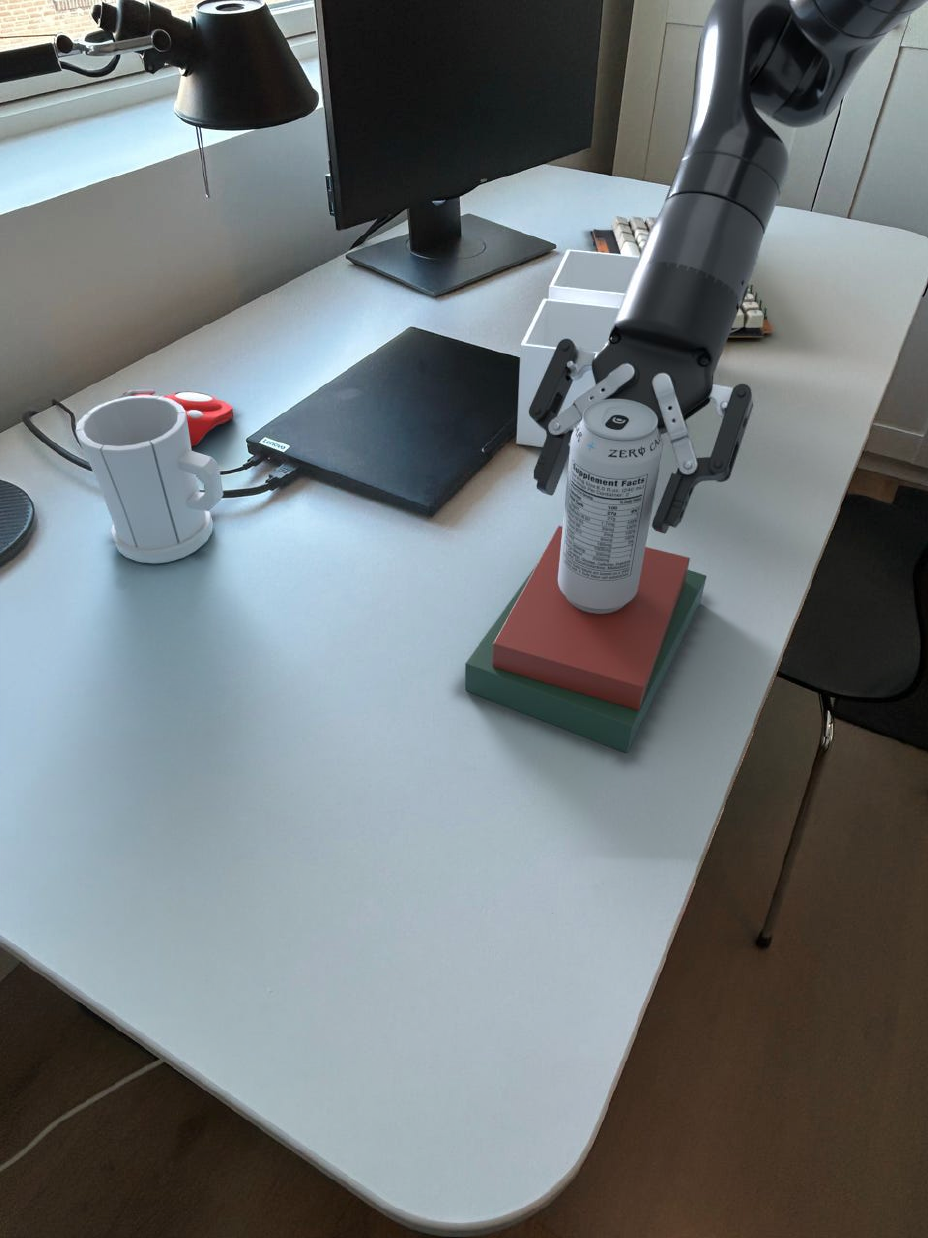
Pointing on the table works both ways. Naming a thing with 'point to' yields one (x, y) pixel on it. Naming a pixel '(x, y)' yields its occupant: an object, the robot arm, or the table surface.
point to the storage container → (571, 326)
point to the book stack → (586, 649)
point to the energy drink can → (608, 504)
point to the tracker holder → (196, 411)
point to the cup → (150, 477)
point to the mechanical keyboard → (630, 242)
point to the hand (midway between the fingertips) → (600, 510)
